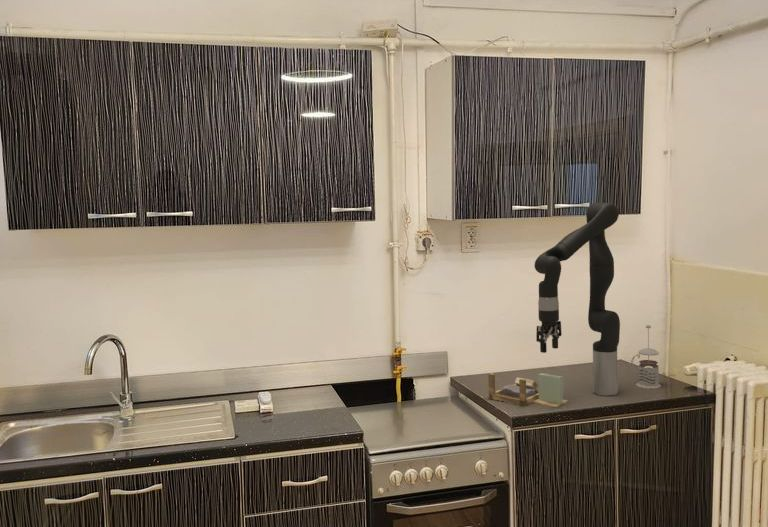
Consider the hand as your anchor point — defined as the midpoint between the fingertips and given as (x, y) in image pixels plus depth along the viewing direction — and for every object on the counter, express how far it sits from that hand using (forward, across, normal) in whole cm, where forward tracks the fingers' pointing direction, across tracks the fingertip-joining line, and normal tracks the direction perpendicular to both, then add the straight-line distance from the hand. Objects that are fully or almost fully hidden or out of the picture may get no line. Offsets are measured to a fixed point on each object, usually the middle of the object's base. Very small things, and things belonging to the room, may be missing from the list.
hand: (549, 350), depth 266 cm
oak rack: (+20, -1, +13) cm, 24 cm away
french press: (+21, +44, -19) cm, 52 cm away
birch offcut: (+18, +6, +15) cm, 24 cm away
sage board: (+20, 0, 0) cm, 20 cm away
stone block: (+21, +1, +14) cm, 25 cm away
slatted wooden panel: (+20, 0, 0) cm, 20 cm away
